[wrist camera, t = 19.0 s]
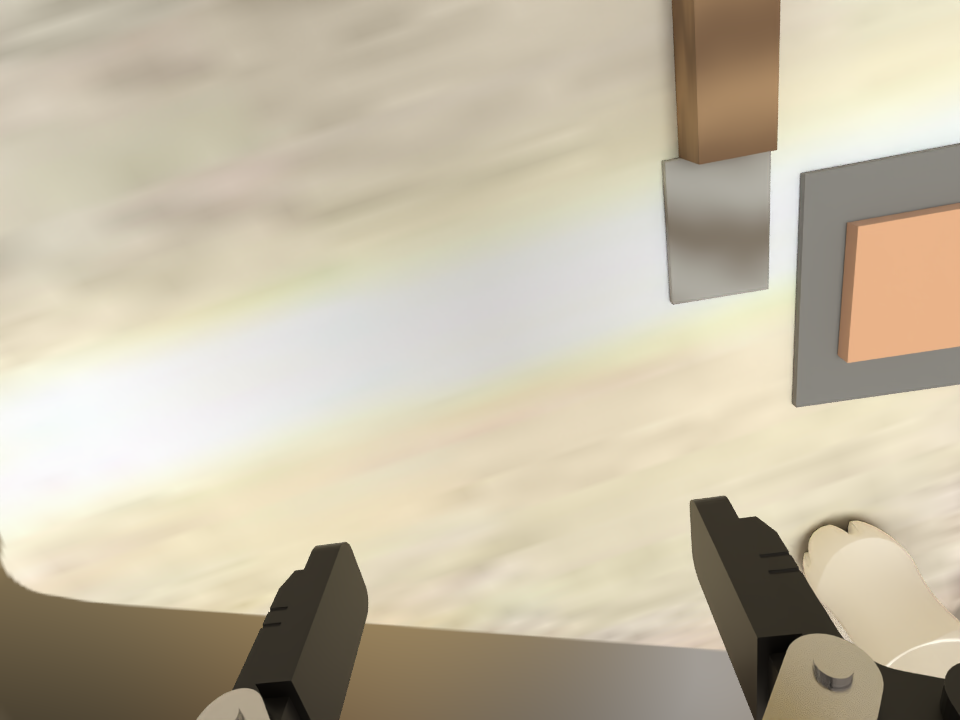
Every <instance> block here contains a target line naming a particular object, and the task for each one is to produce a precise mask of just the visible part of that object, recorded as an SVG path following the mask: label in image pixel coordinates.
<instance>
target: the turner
mask: <svg viewBox="0 0 960 720" xmlns="http://www.w3.org/2000/svg"><path fill="white" fill-rule="evenodd" d="M672 16H673V38H674V60H675V82H676V104H677V125H678V147H679V158H674V159H669V160H664V161H662V170H663V188H664V205H665V222H666V240H667V257H668V275H669V292H670V302H671V303H672V304H673V305H674V304H680V303H686V302H692V301H698V300H704V299H710V298H717V297H723V296H729V295H735V294H741V293H747V292H753V291H759V290H765V289H768V281H769V225H770V169H771V151H774V150H777V129H778V84H779V39H780V0H672Z"/></svg>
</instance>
